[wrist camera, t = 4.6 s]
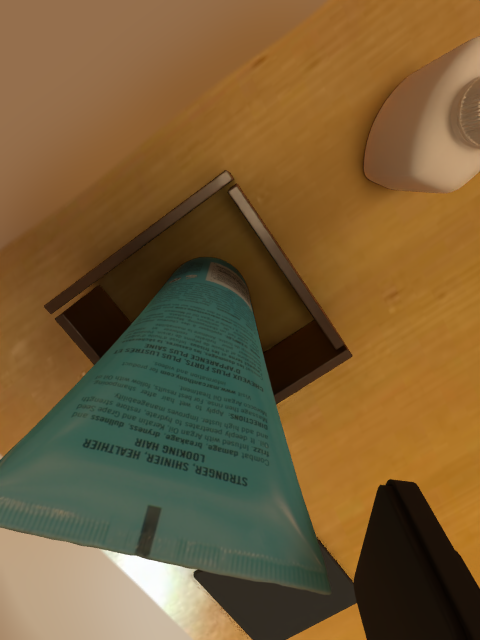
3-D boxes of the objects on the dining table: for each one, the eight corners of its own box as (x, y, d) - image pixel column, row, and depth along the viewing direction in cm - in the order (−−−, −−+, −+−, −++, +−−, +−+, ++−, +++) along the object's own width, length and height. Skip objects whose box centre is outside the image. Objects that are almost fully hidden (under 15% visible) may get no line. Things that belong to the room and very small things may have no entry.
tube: (142, 325, 28) (-47, 618, 9) (151, 246, 26) (-50, 408, 8) (263, 344, 28) (311, 663, 10) (278, 268, 27) (370, 471, 8)
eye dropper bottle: (467, 133, 24) (670, 94, 13) (380, 201, 25) (496, 220, 14) (424, 61, 23) (603, -50, 12) (335, 135, 24) (420, 98, 13)
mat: (263, 646, 35) (263, 651, 35) (193, 572, 33) (193, 576, 33) (362, 594, 34) (364, 599, 34) (297, 513, 32) (297, 517, 31)
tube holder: (191, 408, 29) (180, 464, 24) (84, 278, 27) (43, 306, 21) (329, 319, 28) (353, 356, 22) (229, 171, 25) (226, 169, 19)
